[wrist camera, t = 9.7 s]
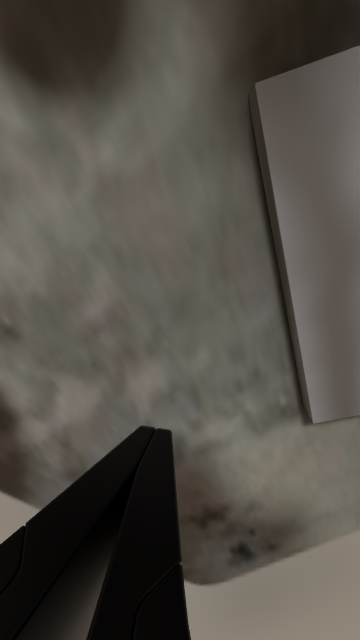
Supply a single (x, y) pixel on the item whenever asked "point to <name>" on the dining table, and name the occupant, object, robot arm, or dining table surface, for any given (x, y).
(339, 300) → the wooden display stand
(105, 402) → the dining table surface
